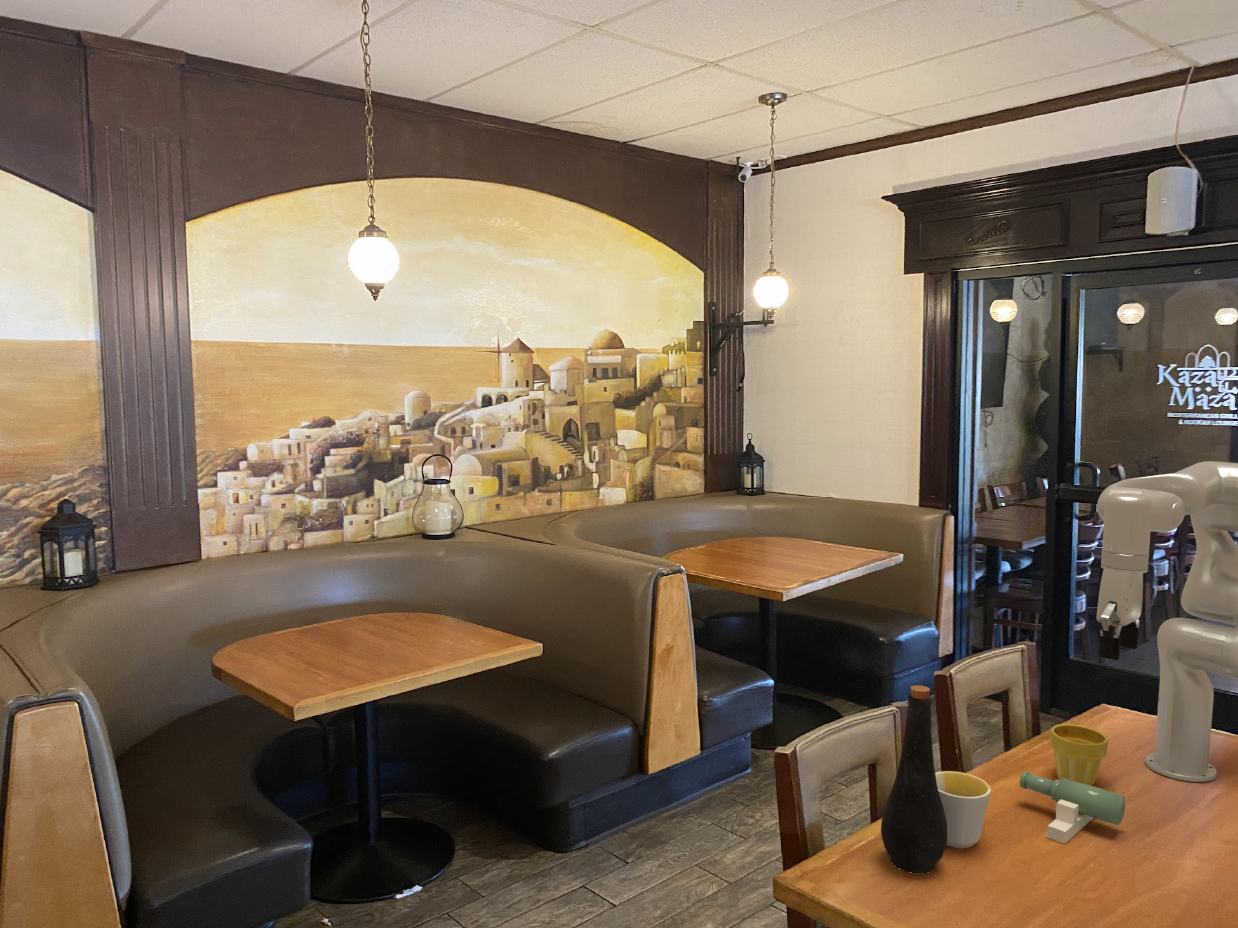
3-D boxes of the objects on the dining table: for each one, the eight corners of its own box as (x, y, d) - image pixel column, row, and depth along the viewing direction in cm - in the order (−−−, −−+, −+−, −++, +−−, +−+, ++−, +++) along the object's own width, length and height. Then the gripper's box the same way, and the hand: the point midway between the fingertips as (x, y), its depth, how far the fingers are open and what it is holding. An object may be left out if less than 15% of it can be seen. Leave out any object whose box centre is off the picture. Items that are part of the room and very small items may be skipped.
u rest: (1084, 804, 178) (1086, 778, 177) (1101, 810, 175) (1103, 783, 175) (1047, 837, 165) (1048, 809, 165) (1064, 843, 163) (1066, 815, 162)
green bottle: (1120, 828, 166) (1023, 796, 178) (1127, 799, 168) (1031, 769, 180) (1112, 820, 163) (1014, 788, 175) (1119, 791, 164) (1022, 762, 176)
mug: (962, 861, 157) (965, 801, 156) (913, 835, 165) (915, 778, 164) (1012, 840, 164) (1015, 782, 163) (963, 816, 173) (965, 761, 172)
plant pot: (1116, 790, 184) (1120, 742, 183) (1068, 793, 182) (1071, 744, 181) (1083, 767, 194) (1086, 722, 193) (1037, 770, 193) (1040, 724, 192)
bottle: (950, 883, 150) (959, 702, 147) (882, 875, 152) (889, 696, 149) (941, 849, 161) (949, 680, 157) (877, 843, 163) (884, 675, 159)
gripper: (1118, 551, 179) (1113, 639, 181) (1085, 564, 167) (1079, 658, 169) (1162, 557, 174) (1156, 647, 176) (1131, 571, 162) (1124, 667, 164)
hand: (1118, 652), depth 172 cm, fingers open, 9 cm apart
